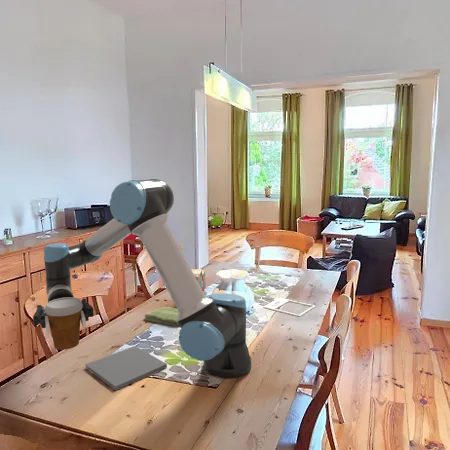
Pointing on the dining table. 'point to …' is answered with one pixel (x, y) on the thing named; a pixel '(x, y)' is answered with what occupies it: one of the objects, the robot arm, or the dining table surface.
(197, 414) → the dining table surface
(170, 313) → the washcloth
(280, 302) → the photo frame
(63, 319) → the disposable coffee cup
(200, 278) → the printed cardboard box
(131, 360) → the slate tile
